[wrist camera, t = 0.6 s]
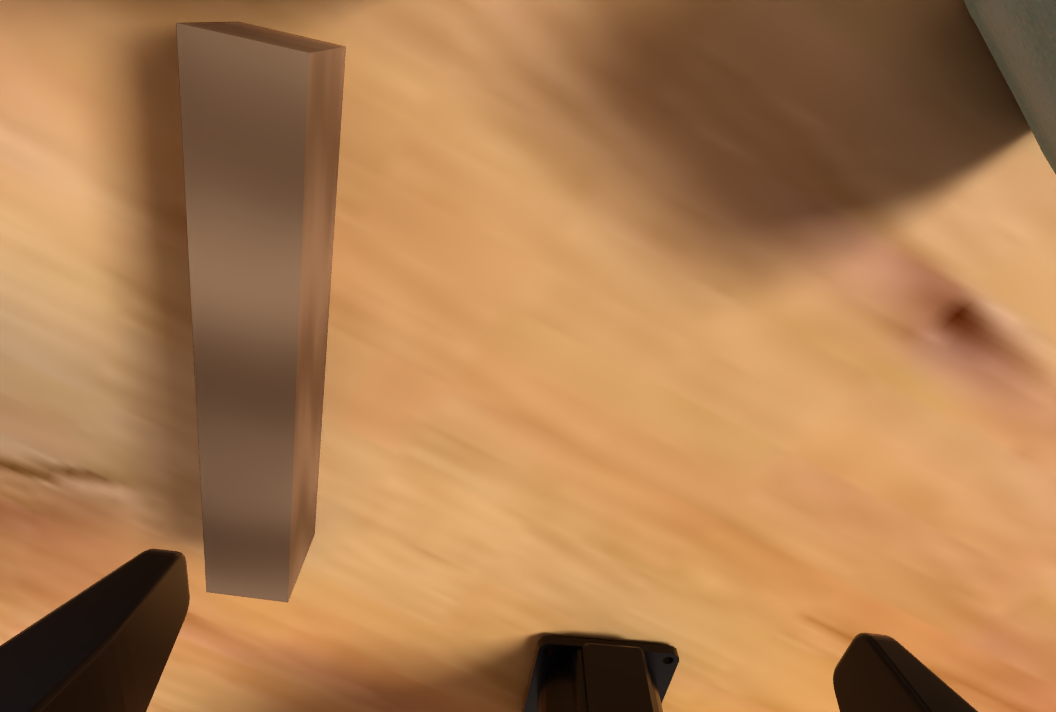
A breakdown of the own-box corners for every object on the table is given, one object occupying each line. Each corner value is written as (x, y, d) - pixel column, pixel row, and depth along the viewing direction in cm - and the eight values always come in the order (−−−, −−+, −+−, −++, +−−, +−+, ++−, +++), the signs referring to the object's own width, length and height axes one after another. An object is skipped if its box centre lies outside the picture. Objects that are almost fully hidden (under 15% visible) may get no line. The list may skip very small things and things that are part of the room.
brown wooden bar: (316, 528, 25) (287, 602, 22) (245, 518, 25) (206, 592, 22) (348, 46, 17) (309, 53, 14) (241, 21, 16) (176, 22, 13)
